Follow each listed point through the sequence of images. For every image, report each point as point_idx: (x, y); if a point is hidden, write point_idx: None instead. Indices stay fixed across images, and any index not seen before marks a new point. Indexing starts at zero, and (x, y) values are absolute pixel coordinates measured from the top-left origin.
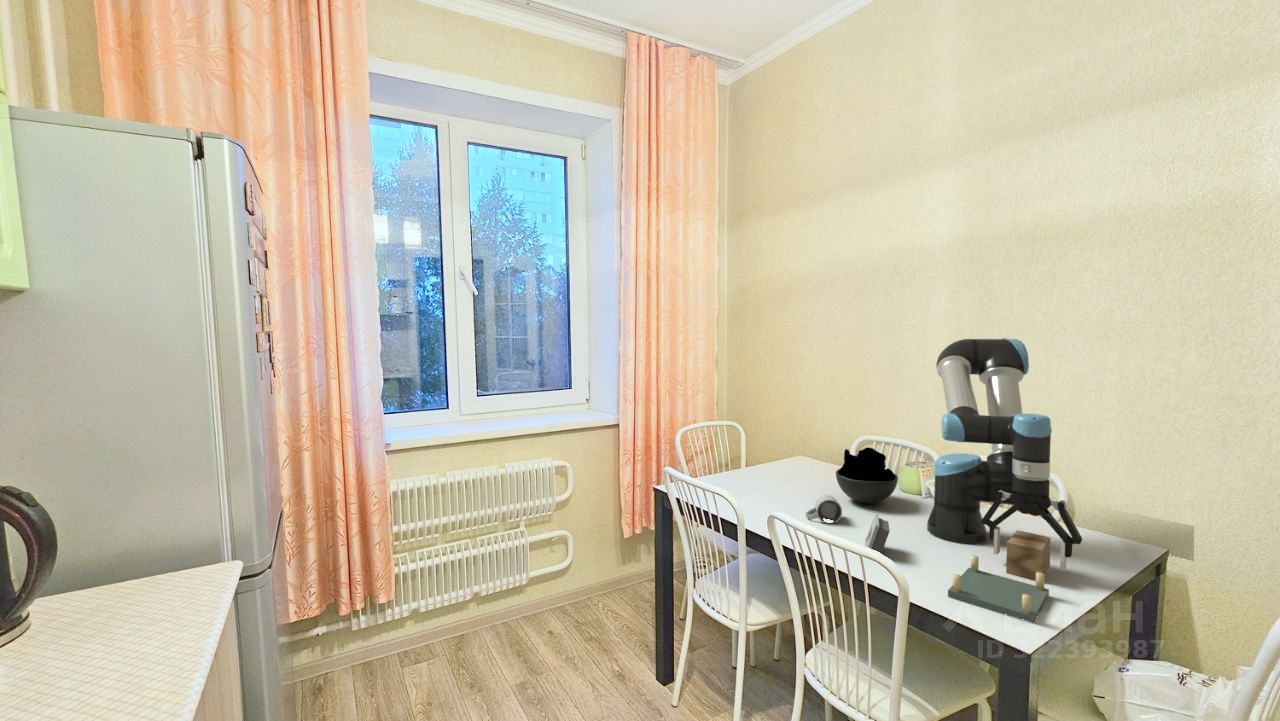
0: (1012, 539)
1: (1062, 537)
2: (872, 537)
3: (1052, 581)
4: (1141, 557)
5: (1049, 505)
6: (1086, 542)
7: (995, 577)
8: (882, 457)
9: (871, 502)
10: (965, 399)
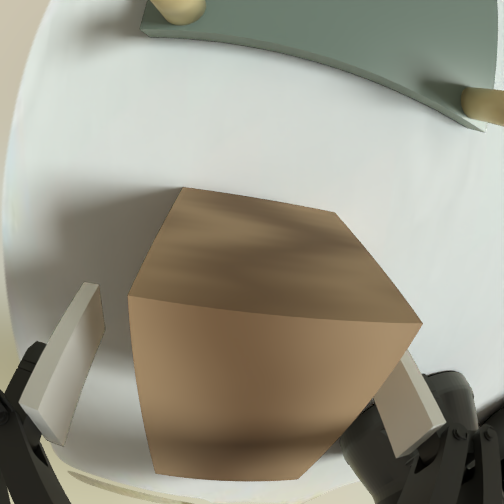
0: (359, 395)
1: (18, 452)
2: None
3: (140, 234)
4: (60, 445)
5: None
6: (143, 473)
7: (401, 49)
8: None
9: (501, 412)
10: None
